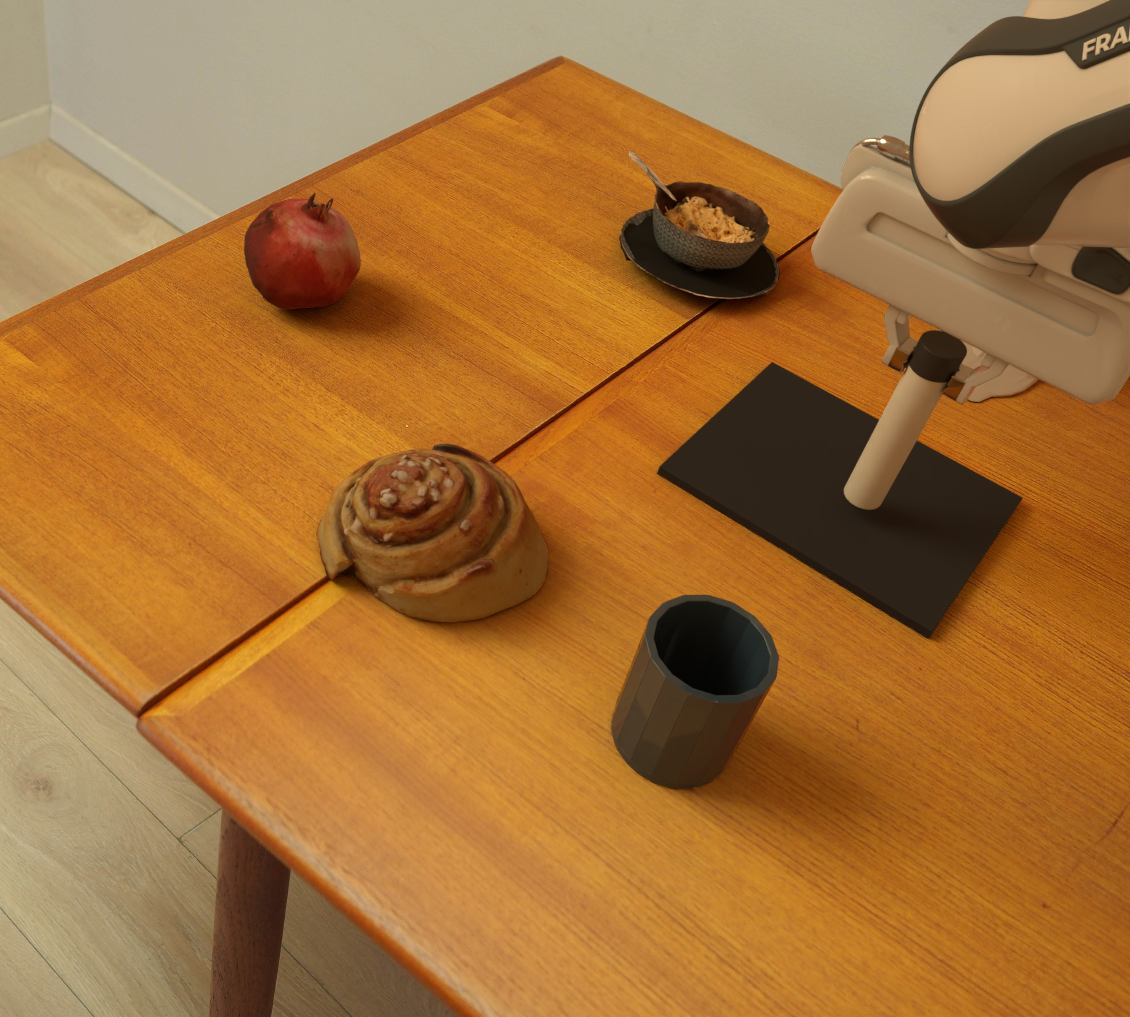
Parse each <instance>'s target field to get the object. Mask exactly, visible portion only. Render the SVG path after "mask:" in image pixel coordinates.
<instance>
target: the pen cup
mask: <svg viewBox="0 0 1130 1017" xmlns="http://www.w3.org/2000/svg"><path fill="white" fill-rule="evenodd" d="M779 661H780V656H779V653H778V650H777V646H776V643H775V642H774V639H773V636H772V634H771V633H770V632H769V631H768V630H767V628H766V627H765V626H764V625H763V623H761V621H760V620H759V619H758V617H756V616H755V615H754V614H752V613H751V612H749V611H748V610H746V609H744V608H743V607H741V605H739V604H737V603H735V602H733V601H730V600H727V599H724V598H720V597H718V596H715V595H711V594H681V595H679V596H677V597H674V598H672V599H671V598H670V599H669V600H666V601H664V602H662V603H661V604H660V605H659V606H658V607H657V608H656V609H655V610H654V611H653V613H652V614H651V615H649V617H648V620H647V622H646V625H645V628H644V630H643V632H642V635H641V638H640V640H639V643H638V645H637V648H636V651H635V653H634V656H633V659H632V661H631V664H630V666H629V668H628V672H627V674H626V677H625V679H624V682H623V684H622V687H621V689H620V692H619V695H618V697H617V699H616V703H615V706H614V709H613V713H612V715H611V723H610V724H611V736H612V740H613V743H614V745H615V747H616V750H617V751H618V753H619V755H620V756H621V758H622V759H623V760H624V762H625V763H626V764H627V765H628V766H629V767H630V768H631V769H632V770H633V771H634V772H635V773H637V774H638V775H640V776H641V777H642V778H644V779H645V780H647V781H650V782H652V783H654V784H657V785H659V786H662V787H666V788H670V789H675V790H676V789H677V790H688V789H696V788H701V787H703V786H706V785H708V784H710V783H712V782H713V781H715V780H716V779H718V778H719V777H720V776H721V775H722V774H723V772H725V770H726V768H727V766H728V765H729V763H730V762H731V761H732V760H733V758H734V756H735V754H736V752H737V750H738V749H739V748H740V747H739V746H740V745H741V743H742V742H743V740H744V738H745V736H746V735H747V733H748V731H749V729H750V727H751V726H752V723H753V721H754V720H755V718H756V716H757V714H758V713H759V711H760V709H761V707H762V705H763V703H764V702H765V699H766V698H767V697H768V694H769V692H770V691H771V689H772V686H773V685H774V683H775V681H776V679H777V677H778V670H779Z"/></svg>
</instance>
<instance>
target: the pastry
mask: <svg viewBox="0 0 1130 1017" xmlns="http://www.w3.org/2000/svg"><path fill="white" fill-rule="evenodd" d="M315 535H316V540H317V542H318V546H319V549H320V550H319V557H320V561H321V562H322V565H323V567H324V572H325V575H326V576H327V579H329V580H335V579H336V578H337V577H341V576H344V577H349V578H353V579H356V581H357V580H358V582H360V583H361V584H363V585H364V586H365V588H366V589H368V590H369V591H370V593H371V594H372V595H373V596H374V597H376V598H377V599H379V600H380V601H382V602H383V603H385V604H386V605H388V607H390V608H392V609H394V610H396V611H398V612H400V613H401V614H404V615H406V616H408V617H411V618H415V619H419V620H425V621H430V622H437V623H463V622H470V621H477V620H482V619H485V618H487V617H490V616H493V615H495V614H497V613H499V612H502V611H504V610H507V609H510V608H512V607H515V606H517V605H519V604H522V603H523V602H526V601H527V600H529V599H531V598H532V597H534V596H535V595H536V594H537V593H538V592H539V591H540V590H541V588H542V586H543V585H544V583H545V580H546V577H547V574H548V571H549V570H548V568H549V549H548V545H547V543H546V541H545V540H544V537H543V535H542V532H541V530H540V526H539V525H538V522H537V521H536V519H535V516H534V514H533V512H532V510H531V508H530V506H529V505H528V503H527V502H526V500H525V498H524V496H523V494H522V491H521V489H520V488H519V486H518V484H517V482H516V481H515V480H514V479H513V478H512V476H510V475H509V474H508V472H506V471H505V470H503V469H502V468H500V467H499V466H498V465H496V464H495V463H493V462H492V461H490V460H489V459H487V458H486V457H484V456H483V455H481V454H479V453H476V452H475V451H473V450H470V449H467V448H465V447H463V446H460V445H457V444H453V443H452V444H451V443H438V444H435V445H433V447H432V448H431V449H428V448H413V449H407V450H402V451H399V452H393V453H389V454H386V455H382V456H378V457H375V458H372V459H371V460H368V461H367V462H365V463H363V464H362V465H361V466H359V467H357V468H356V469H354V471H352V472H351V473H350V474H349V475H348V476H347V477H345V478H344V480H342V481H341V482H340V483H339V484H338V485H337V486H336V487H335V488H334V489H333V491H332V492H331V495H330V497H329V500H328V503H327V506H326V510H325V512H324V513H323V515H322V517H321V519H320V520H319V523H318V526H317V529H316V533H315Z"/></svg>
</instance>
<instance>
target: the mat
mask: <svg viewBox="0 0 1130 1017" xmlns="http://www.w3.org/2000/svg"><path fill="white" fill-rule="evenodd" d="M879 420H880V418H876V417H875V416H873V415H871V414H870V413H867V412H866V411H864V410H862V409H860V408H859V407H857V406H854V405H853V404H851V403H849V402H847V401H845V400H844V399H841V398H840V397H838V396H836V395H834V394H833V393H831V392H828V391H827V390H825V389H824V388H821V387H820V386H817V385H816V384H814V383H812V382H810V381H809V380H807V379H805V378H802V377H801V376H799V375H798V374H795V373H794V372H792V371H790V370H789V369H786V368H784V367H782V366H781V365H780V364H777V363H775V362H773V361H772V362H770V363H769V364H768V365H767V366H765V368H763V370H761V372H759V373H758V374H757V375H756V376H755V377H754V378H753V379H752V380H751V381H750V382H749V383H748V384H746V386H744V387H743V388H742V389H741V390H740V391H739V392H738V393H737V394H736V395H734V397H732V398H731V399H730V400H729V401H728V402H727V403H726V404H725V405H724V406H723V407H722V408H721V409H720V410H719V411H717V412H716V413H715V414H714V415H713V416H712V417H711V418H710V419H709V420H708V421H706V422H705V424H703V425H702V426H701V427H700V428H699V429H698V430H697V431H695V433H693V434H692V436H690V437H689V438H688V439H687V440H686V441H685V442H684V443H683V444H682V445H680V446H679V447H678V449H676V450H675V451H674V452H673V453H672V454H671V455H670V456H669V457H668V458H667V459H666V460H664V461H663V462H662V463H661V464H660V465H659V467H658V470H657V472H656V473H657V475H659V476H661V477H662V478H665V479H666V480H667V481H669V482H670V483H672V484H674V485H676V486H677V487H678V488H681V489H682V490H683V491H685V492H687V493H689V494H690V495H692V496H693V497H695V498H697V500H700V501H701V502H703V503H705V504H707V505H708V506H710V507H711V508H713V509H715V510H716V511H718V512H720V513H721V514H723V515H725V516H726V517H727V518H729V519H731V520H733V521H734V522H736V523H738V524H739V525H741V526H743V527H745V528H746V529H747V530H749V531H751V532H753V533H754V534H755V535H757V536H759V537H761V538H762V539H764V540H765V541H767V542H769V543H771V544H772V545H774V546H776V547H777V548H778V549H781V550H782V551H784V552H785V553H787V554H788V555H790V556H792V557H793V558H795V559H797V560H798V561H800V562H802V563H803V564H805V565H806V566H808V567H810V568H811V569H813V570H815V571H816V572H818V573H820V574H821V575H823V576H825V577H826V578H828V579H830V580H831V581H833V582H835V583H836V584H838V585H839V586H841V587H843V588H845V589H846V590H848V591H849V592H851V593H853V594H854V595H856V596H857V597H859V598H861V599H862V600H863V601H865V602H867V603H869V604H870V605H872V606H873V607H876V608H877V609H879V610H880V611H882V612H884V613H885V614H887V615H889V616H891V617H892V618H893V619H895V620H897V621H899V622H900V623H902V624H903V625H905V626H906V627H908V628H910V629H911V630H912V631H915V632H916V633H918V634H920V635H921V636H923V637H925V638H926V639H929V638H930V637H931V636H932V634H933V632H935V630H936V628H937V627H938V626H939V624H940V622H941V621H942V620H943V619H944V616H945V615H946V614H947V612H948V610H949V609H950V608H951V606H952V605H953V603H954V602H955V600H956V599H957V597H958V595H959V594H960V593H961V591H962V590H963V588H964V587H965V586H966V584H967V582H968V581H969V579H970V578H971V576H972V575H973V574H974V572H975V571H976V569H977V567H978V566H979V564H980V563H981V561H982V560H983V558H984V557H985V556H986V554H987V553H988V551H989V549H990V548H991V547H992V545H993V543H994V542H995V541H996V540H997V538H998V536H999V535H1000V533H1001V532H1002V530H1003V529H1004V527H1005V525H1006V524H1007V523H1008V522H1009V520H1010V518H1011V516H1012V515H1013V514H1014V512H1015V511H1016V510H1017V508H1018V506H1019V505H1020V504H1021V502H1022V501H1023V496H1021V495H1018V494H1017V493H1015V492H1013V491H1012V490H1009V489H1008V488H1006V487H1004V486H1002V485H1000V484H998V483H996V482H995V481H993V480H991V479H989V478H987V477H985V476H983V475H982V474H981V473H978V472H976V471H975V470H972V469H971V468H969V467H967V466H966V465H963V464H962V463H959V462H958V461H957V460H954V459H952V458H950V457H949V456H947V455H944V454H943V453H941V452H940V451H938V450H936V449H934V448H932V447H930V446H929V445H927V444H925V443H923V442H921V441H920V440H917V441H916V443H915V444H914V446H913V448H912V450H911V452H910V453H909V455H908V457H907V459H906V461H905V462H904V464H903V466H902V468H901V470H900V471H899V473H898V475H897V477H896V479H895V480H894V482H893V484H892V486H891V487H890V489H889V491H888V493H887V495H886V496H885V498H884V500H883V502H882V504H881V505H880V506H879V507H878V508H876V509H872V510H867V509H862V508H859V507H857V506H855V505H853V504H852V503H850V502H849V501H848V500H847V498H846V497H845V495H844V487H845V485H846V483H847V482H848V480H849V478H850V476H851V474H852V472H853V470H854V468H855V466H856V464H857V462H858V460H859V458H860V456H861V454H862V453H863V451H864V449H865V447H866V445H867V443H868V441H869V439H870V437H871V435H872V433H873V431H874V429H875V427H876V425H877V424H878V422H879Z"/></svg>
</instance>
